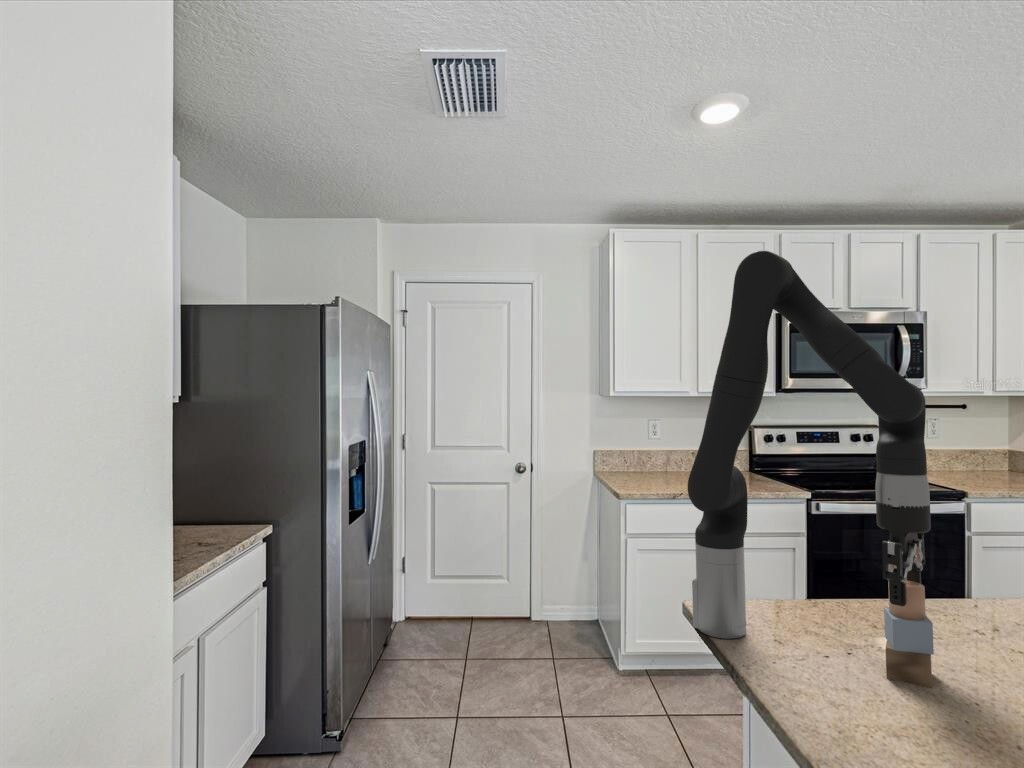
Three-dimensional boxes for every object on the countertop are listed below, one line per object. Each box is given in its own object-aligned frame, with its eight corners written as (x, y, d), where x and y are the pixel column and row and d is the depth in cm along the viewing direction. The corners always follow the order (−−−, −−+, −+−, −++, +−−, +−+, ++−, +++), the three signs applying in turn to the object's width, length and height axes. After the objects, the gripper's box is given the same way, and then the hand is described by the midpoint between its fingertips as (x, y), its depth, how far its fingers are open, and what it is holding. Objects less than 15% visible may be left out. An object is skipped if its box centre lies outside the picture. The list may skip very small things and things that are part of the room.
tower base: (886, 678, 96) (885, 647, 96) (888, 664, 100) (887, 635, 101) (931, 688, 92) (930, 656, 92) (931, 673, 97) (930, 643, 97)
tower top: (893, 650, 95) (892, 619, 95) (885, 637, 100) (884, 607, 100) (933, 654, 93) (932, 623, 93) (922, 641, 98) (921, 611, 98)
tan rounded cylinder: (884, 614, 97) (883, 584, 97) (894, 607, 100) (893, 577, 100) (920, 622, 93) (919, 591, 93) (929, 614, 96) (928, 584, 97)
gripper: (889, 493, 105) (893, 584, 104) (862, 503, 95) (866, 603, 95) (940, 497, 99) (944, 593, 99) (916, 509, 90) (920, 615, 89)
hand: (905, 598), depth 97 cm, fingers open, 8 cm apart
